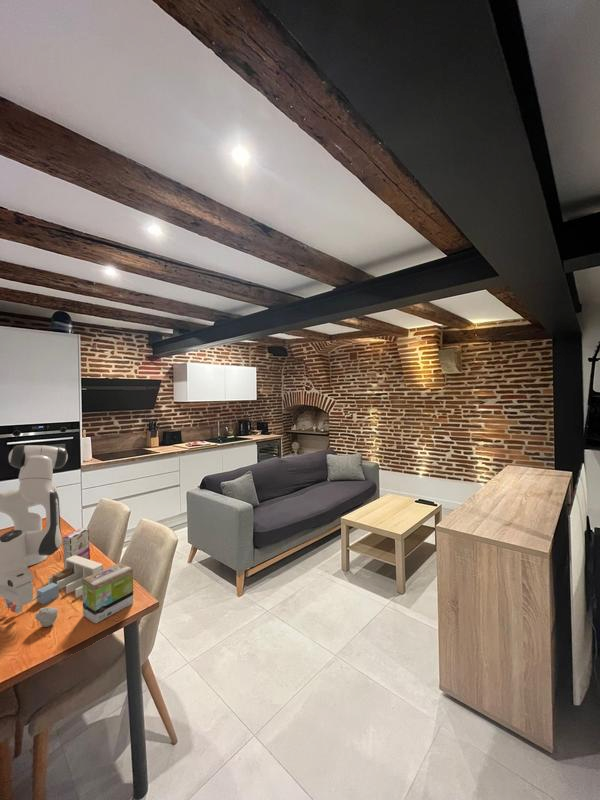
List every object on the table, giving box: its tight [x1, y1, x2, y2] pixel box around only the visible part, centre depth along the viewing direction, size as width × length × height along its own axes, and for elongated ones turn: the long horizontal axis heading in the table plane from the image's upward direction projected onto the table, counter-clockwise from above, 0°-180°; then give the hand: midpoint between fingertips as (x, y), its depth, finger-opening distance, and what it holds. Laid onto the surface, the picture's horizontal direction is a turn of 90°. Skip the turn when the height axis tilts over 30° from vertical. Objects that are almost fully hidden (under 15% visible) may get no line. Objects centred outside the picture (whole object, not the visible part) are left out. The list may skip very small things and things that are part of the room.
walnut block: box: [52, 569, 73, 584], centre depth 155 cm, size 4×6×5 cm
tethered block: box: [10, 582, 60, 613], centre depth 139 cm, size 4×16×5 cm, turn 153°
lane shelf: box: [47, 555, 104, 599], centre depth 153 cm, size 21×12×9 cm, turn 63°
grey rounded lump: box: [34, 606, 59, 628], centre depth 126 cm, size 6×7×7 cm
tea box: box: [82, 562, 134, 624], centre depth 135 cm, size 15×10×15 cm, turn 148°
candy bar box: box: [62, 527, 91, 570], centre depth 171 cm, size 11×5×16 cm, turn 168°
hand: (14, 609), depth 133 cm, fingers open, 5 cm apart
